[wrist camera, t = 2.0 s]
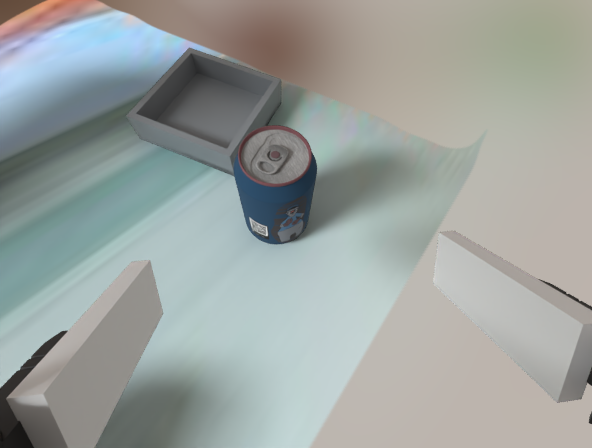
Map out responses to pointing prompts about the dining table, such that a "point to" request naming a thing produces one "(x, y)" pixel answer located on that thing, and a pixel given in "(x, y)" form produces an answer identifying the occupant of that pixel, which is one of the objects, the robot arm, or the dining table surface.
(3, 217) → the dining table surface
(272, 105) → the bin
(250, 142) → the soda can
